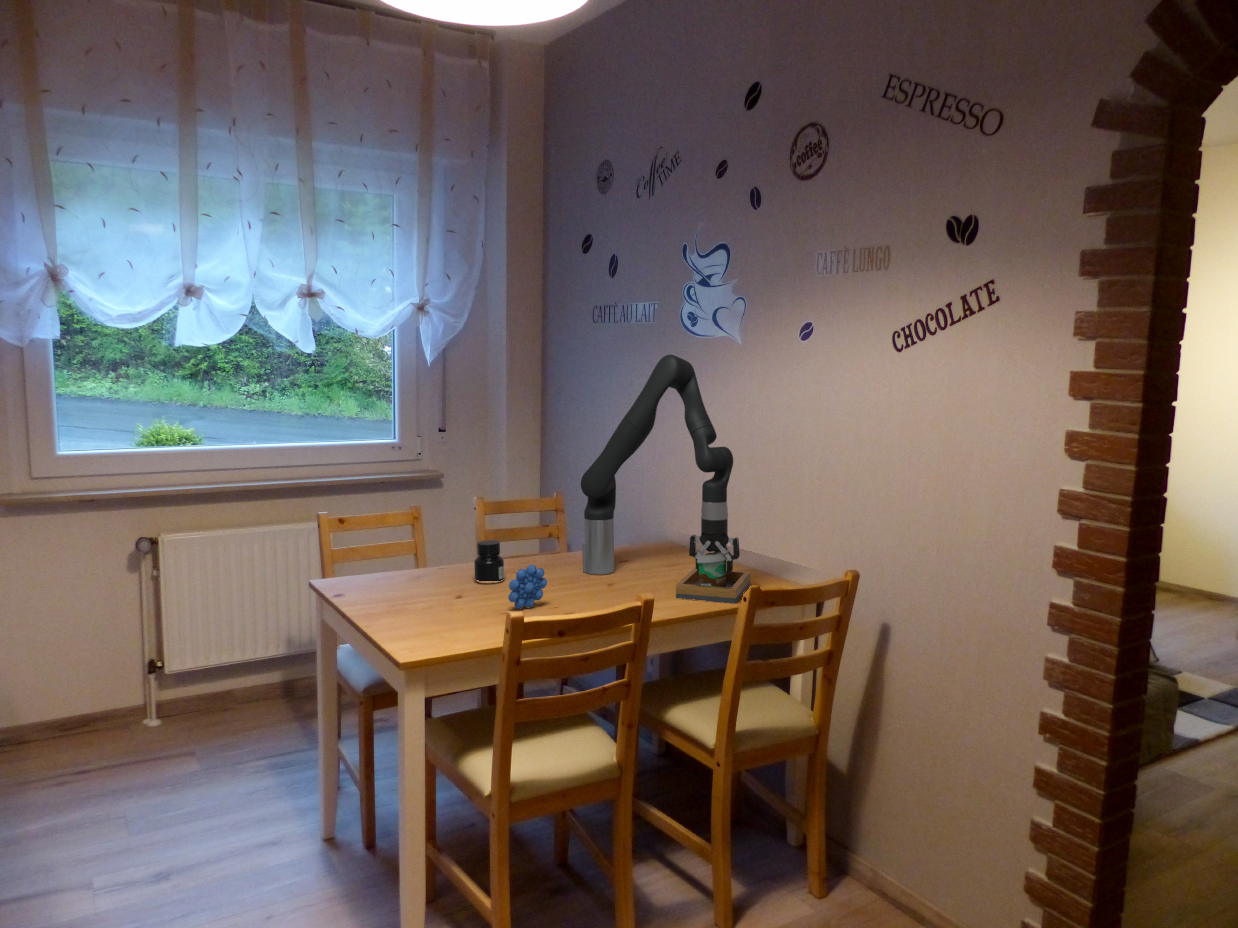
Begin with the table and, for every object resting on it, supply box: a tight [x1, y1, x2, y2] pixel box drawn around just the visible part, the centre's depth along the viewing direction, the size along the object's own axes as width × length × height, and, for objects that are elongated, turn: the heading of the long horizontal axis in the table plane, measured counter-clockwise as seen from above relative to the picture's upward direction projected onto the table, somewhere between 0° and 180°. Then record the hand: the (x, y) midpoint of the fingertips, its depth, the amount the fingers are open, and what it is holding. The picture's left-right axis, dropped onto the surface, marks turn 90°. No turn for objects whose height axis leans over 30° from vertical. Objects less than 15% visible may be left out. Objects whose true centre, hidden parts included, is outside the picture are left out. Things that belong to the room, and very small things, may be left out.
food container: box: [697, 551, 728, 587], centre depth 262 cm, size 12×6×10 cm, turn 147°
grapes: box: [507, 564, 548, 610], centre depth 248 cm, size 12×7×12 cm, turn 123°
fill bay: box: [675, 567, 751, 605], centre depth 263 cm, size 17×21×4 cm
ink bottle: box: [473, 539, 505, 581], centre depth 277 cm, size 10×9×12 cm
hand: (714, 572), depth 263 cm, fingers open, 8 cm apart
